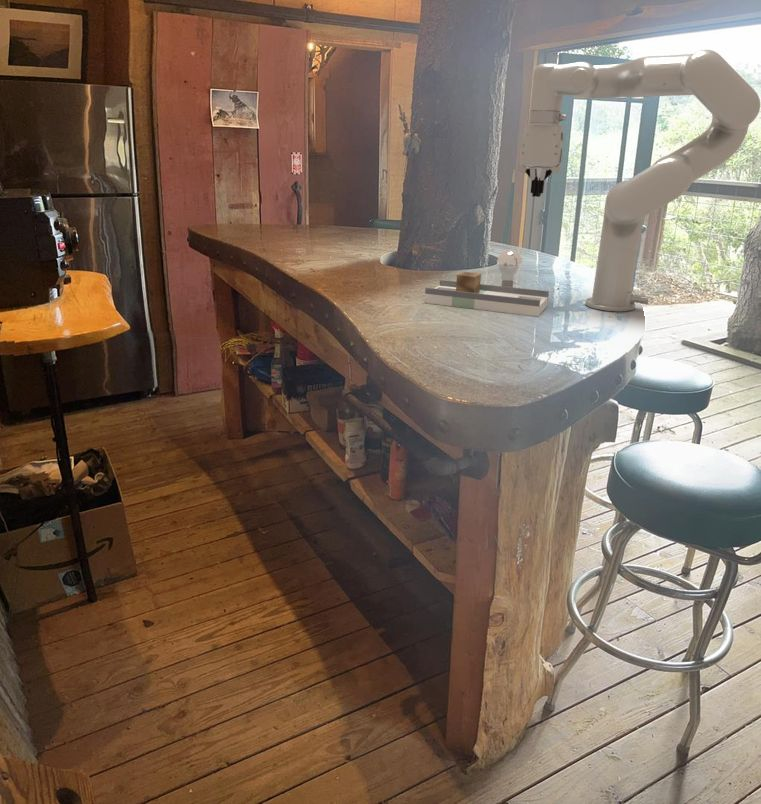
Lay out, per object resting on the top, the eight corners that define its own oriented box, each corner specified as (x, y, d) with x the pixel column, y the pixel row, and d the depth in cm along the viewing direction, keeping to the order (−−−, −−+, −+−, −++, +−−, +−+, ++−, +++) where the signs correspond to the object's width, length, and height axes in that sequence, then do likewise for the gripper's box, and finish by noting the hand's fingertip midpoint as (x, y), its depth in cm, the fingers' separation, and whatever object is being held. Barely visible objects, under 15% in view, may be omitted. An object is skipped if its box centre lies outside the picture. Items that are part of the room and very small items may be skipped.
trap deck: (547, 306, 172) (548, 291, 170) (538, 316, 161) (539, 300, 160) (439, 294, 183) (440, 279, 181) (424, 302, 172) (425, 287, 171)
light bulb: (500, 294, 184) (504, 251, 179) (490, 289, 190) (494, 247, 185) (523, 293, 186) (527, 250, 181) (512, 288, 192) (516, 246, 187)
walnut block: (479, 292, 174) (481, 273, 172) (473, 295, 170) (475, 276, 168) (462, 290, 176) (463, 271, 174) (455, 293, 172) (456, 274, 170)
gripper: (577, 120, 163) (568, 196, 169) (518, 119, 168) (511, 193, 175) (572, 119, 156) (563, 198, 163) (511, 118, 162) (504, 195, 169)
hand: (536, 196), depth 169 cm, fingers closed
